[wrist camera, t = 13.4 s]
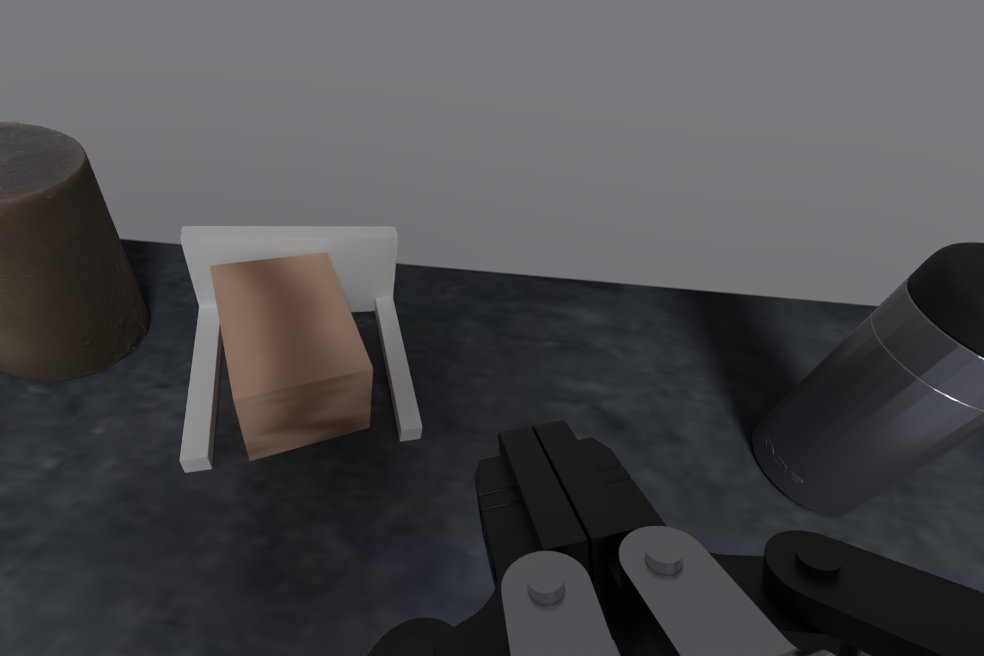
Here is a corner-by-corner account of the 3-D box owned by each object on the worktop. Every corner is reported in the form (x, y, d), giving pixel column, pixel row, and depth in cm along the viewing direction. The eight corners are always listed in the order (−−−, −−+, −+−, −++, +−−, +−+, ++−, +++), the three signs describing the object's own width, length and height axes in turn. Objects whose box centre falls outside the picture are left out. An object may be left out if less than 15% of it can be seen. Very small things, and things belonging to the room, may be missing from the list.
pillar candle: (158, 360, 37) (85, 174, 26) (-20, 401, 32) (-195, 193, 21) (142, 278, 42) (75, 96, 32) (-14, 303, 37) (-151, 98, 27)
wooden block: (329, 316, 43) (327, 252, 38) (369, 429, 36) (373, 368, 32) (226, 333, 40) (209, 265, 35) (249, 462, 33) (233, 399, 28)
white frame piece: (389, 298, 46) (395, 226, 40) (420, 438, 36) (433, 369, 31) (204, 307, 41) (182, 226, 35) (185, 472, 31) (150, 397, 26)
